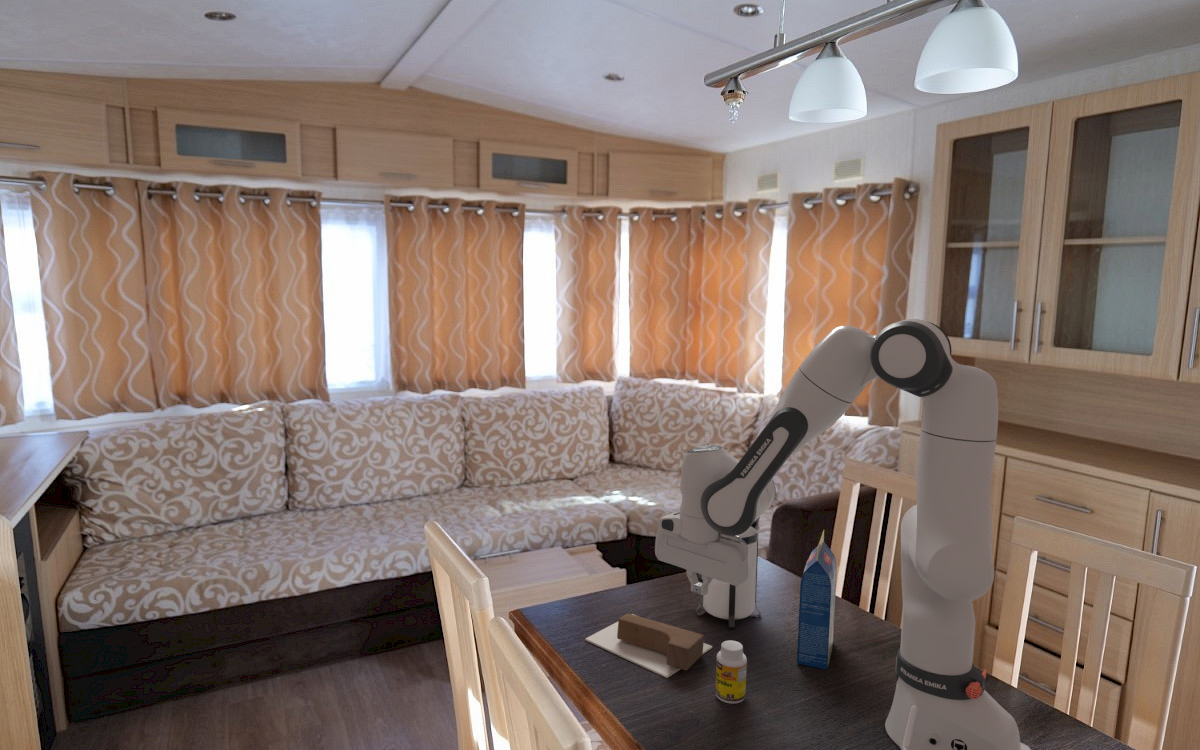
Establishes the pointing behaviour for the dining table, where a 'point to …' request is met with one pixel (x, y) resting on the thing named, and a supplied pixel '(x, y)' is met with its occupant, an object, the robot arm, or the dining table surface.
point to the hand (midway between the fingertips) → (699, 592)
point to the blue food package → (817, 608)
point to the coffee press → (735, 587)
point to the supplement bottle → (731, 672)
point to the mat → (635, 651)
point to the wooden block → (662, 639)
